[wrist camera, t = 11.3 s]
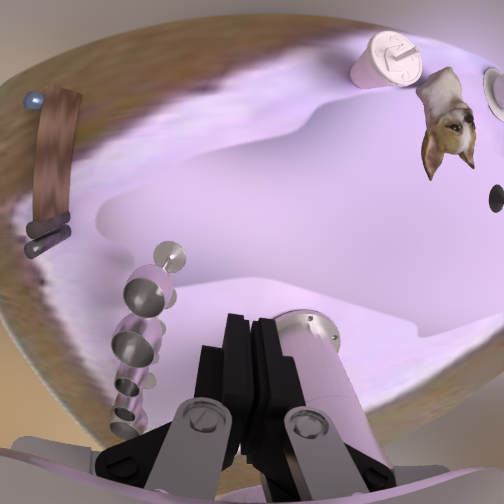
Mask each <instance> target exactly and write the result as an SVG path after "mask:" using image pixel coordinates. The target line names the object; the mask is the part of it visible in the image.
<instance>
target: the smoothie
mask: <svg viewBox="0 0 504 504" xmlns="http://www.w3.org/2000/svg"><path fill="white" fill-rule="evenodd" d="M419 51H420V48H419V47H418V46H416V47H415V46H414V45H413V44H412V43H411V42H410V41H409V40H408V39H407V38H406V37H404V36H403V35H401V34H399V33H396V32H393V31H383V32H380V33H378V34H376V35H374V36H373V37H372V38H371V39H370V41H369V43H368V46H367V49H366V50H365V51H364V52H363V54H362V55H361V56H360V57H359V59H358V60H357V61H356V63H355V64H354V65H353V66H352V68H351V70H350V78H351V80H352V82H353V83H354V84H355V85H356V86H357V87H359V88H361V89H371V88H377V87H384V86H391V85H394V86H400V87H403V86H408V85H410V84H412V83H414V82H416V81H417V80H418V79H419V78H420V76H421V73H422V61H421V57H420V55H419Z"/></svg>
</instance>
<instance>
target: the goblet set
mask: <svg viewBox="0 0 504 504" xmlns="http://www.w3.org/2000/svg"><path fill="white" fill-rule="evenodd" d="M154 261H155V264H156V265H152V264H150V265H145V266H142V267H140V268H138V269H137V270H135V271H134V272H133V273H132V274H131V276H130V277H129V278H128V280H127V282H126V285H125V287H124V290H123V299H124V302H125V304H126V306H127V307H128V309H129V310H130V311H131V312H132V313H131V314H129V315H127V316H126V317H125V318H123V319H122V320H121V321H120V323H119V324H118V326H117V327H116V329H115V331H114V334H113V337H112V341H111V347H112V351H113V353H114V354H115V356H116V357H117V358H118V359H119V360H120V361H121V364H120V365H119V367H118V369H117V372H116V376H115V381H114V385H115V388H116V389H117V390H118V391H119V393H118V395H117V398H116V400H115V405H114V406H113V407H112V409H111V411H110V415H109V427H110V429H111V431H112V432H113V433H114V434H115V435H117V436H118V437H120V438H122V439H125V440H130V439H133V438H135V437H137V436H140V435H142V434H143V433H144V432H145V430H146V428H147V425H148V418H147V415H146V413H145V411H144V410H143V408H142V402H143V394H142V389H143V388H146V389H149V388H152V387H154V386H155V385H156V378H155V377H154V375H153V374H152V373H150V372H149V365H150V364H155V363H157V362H158V360H159V354H158V352H159V350H160V348H161V344H162V336H163V335H164V334H165V331H166V327H165V324H164V322H163V321H162V320H161V319H160V318H158V317H156V316H158V315H159V314H160V313H161V312H162V311H163V310H164V309H168V308H170V307H172V306H173V305H174V304H175V302H176V299H177V294H176V290H175V288H174V287H173V285H172V280H171V277H170V275H169V274H168V273H176V272H178V271H180V270H181V269H182V268H183V267H184V265H185V263H186V254H185V251H184V249H183V248H182V247H181V246H180V245H179V244H177V243H175V242H173V241H165V242H162V243H160V244H159V245H158V246H157V247H156V249H155V251H154Z"/></svg>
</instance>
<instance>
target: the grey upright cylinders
mask: <svg viewBox="0 0 504 504" xmlns="http://www.w3.org/2000/svg"><path fill="white" fill-rule="evenodd" d="M43 99H44V94H41V93H36V92H29V93H28V94H27V95H26V96H25V98H24V102H23V105H24V107H25V108H26V109H33V110H40V111H41V110H42V104H43ZM70 236H71V228H70V227H69V226H68V225H66V224H64V225H62V226H60V227H58V228H56V229H54V230H52V231H50V232H48V233H46V234H44V235H42V236H40V237H38V238H36V239H34V240H32V241H30V242H28V243H26V244H25V246H24V252H25V254H26V256H27V257H28V258H29V259H33V258H35V257H37V256H38V255H40V254H42V253H43V252H45V251H47V250H48V249H50V248H52V247H53V246H55V245H57V244H58V243H60V242H62V241H64V240H65V239H67V238H69V237H70Z"/></svg>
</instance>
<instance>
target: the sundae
mask: <svg viewBox="0 0 504 504" xmlns="http://www.w3.org/2000/svg"><path fill="white" fill-rule="evenodd" d="M489 205H490V208H491V210H492V211H493V212H495V213H497V212H499V211H500V210H501V209H502V207H503V205H504V191H503V189H502V187H501V186H500V185H495V186H493V188H492V189H491V191H490V194H489Z"/></svg>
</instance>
